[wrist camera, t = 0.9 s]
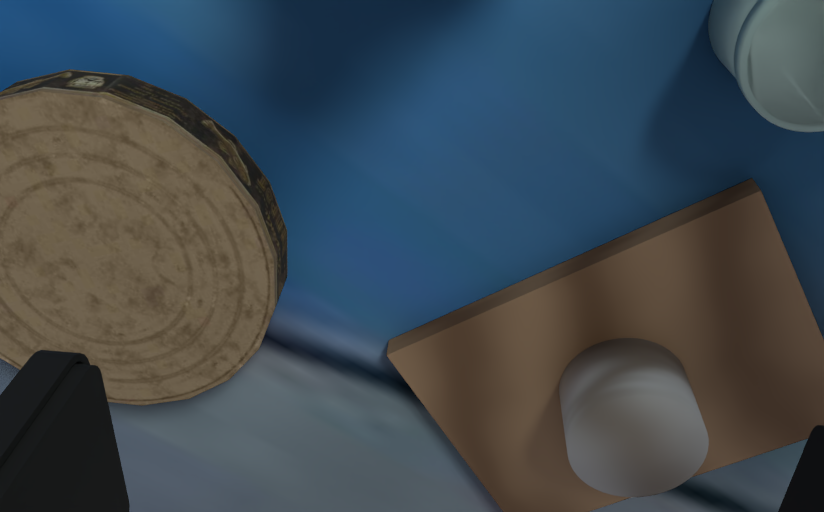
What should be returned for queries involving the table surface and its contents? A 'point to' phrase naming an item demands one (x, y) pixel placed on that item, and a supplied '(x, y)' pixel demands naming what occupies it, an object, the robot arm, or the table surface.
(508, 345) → the stud board
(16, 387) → the robot arm
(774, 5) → the cap
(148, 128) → the wood slice
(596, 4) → the table surface
